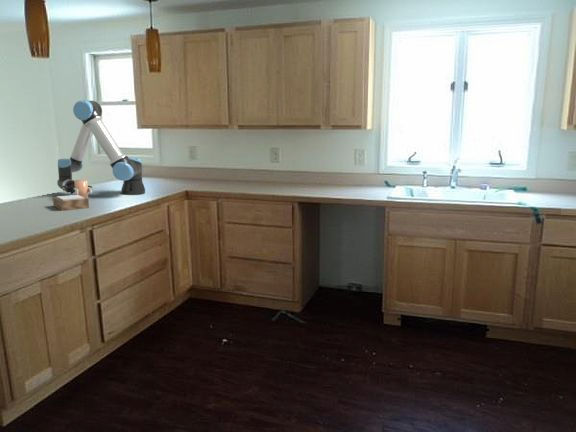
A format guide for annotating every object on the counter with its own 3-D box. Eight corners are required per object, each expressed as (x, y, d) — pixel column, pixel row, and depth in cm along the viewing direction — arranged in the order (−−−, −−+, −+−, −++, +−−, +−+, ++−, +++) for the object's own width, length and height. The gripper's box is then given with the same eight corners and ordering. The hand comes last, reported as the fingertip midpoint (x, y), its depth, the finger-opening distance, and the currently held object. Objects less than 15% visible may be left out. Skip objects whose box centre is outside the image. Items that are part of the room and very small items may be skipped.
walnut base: (79, 203, 263) (79, 194, 262) (88, 207, 253) (88, 197, 252) (53, 206, 253) (52, 196, 252) (61, 210, 243) (61, 200, 242)
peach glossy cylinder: (86, 199, 276) (84, 179, 273) (90, 201, 271) (89, 181, 268) (73, 200, 271) (72, 180, 269) (78, 202, 266) (76, 181, 264)
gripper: (88, 190, 290) (102, 196, 274) (54, 193, 277) (66, 199, 260) (87, 178, 288) (101, 183, 272) (53, 181, 275) (65, 186, 259)
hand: (84, 191), depth 266 cm, fingers closed on peach glossy cylinder, 7 cm apart
